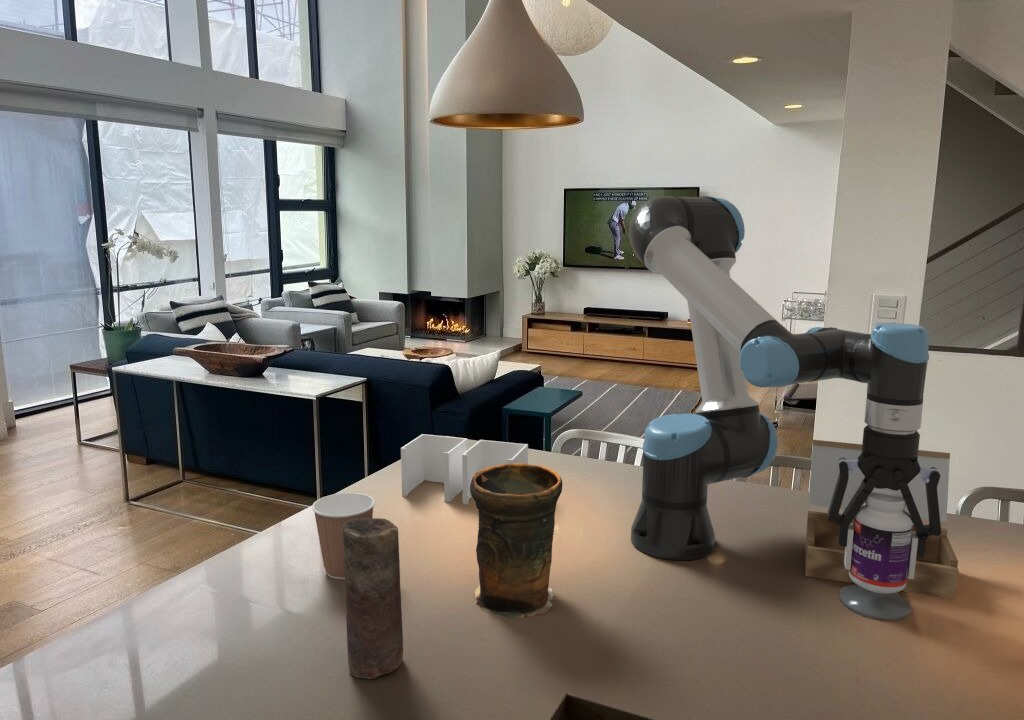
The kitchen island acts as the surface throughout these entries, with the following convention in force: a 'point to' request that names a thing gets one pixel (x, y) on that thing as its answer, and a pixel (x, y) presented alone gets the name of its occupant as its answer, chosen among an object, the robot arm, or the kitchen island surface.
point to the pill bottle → (881, 543)
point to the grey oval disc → (875, 603)
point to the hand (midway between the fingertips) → (878, 570)
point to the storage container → (453, 462)
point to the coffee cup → (338, 526)
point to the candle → (372, 596)
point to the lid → (828, 472)
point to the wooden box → (930, 576)
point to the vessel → (515, 537)
